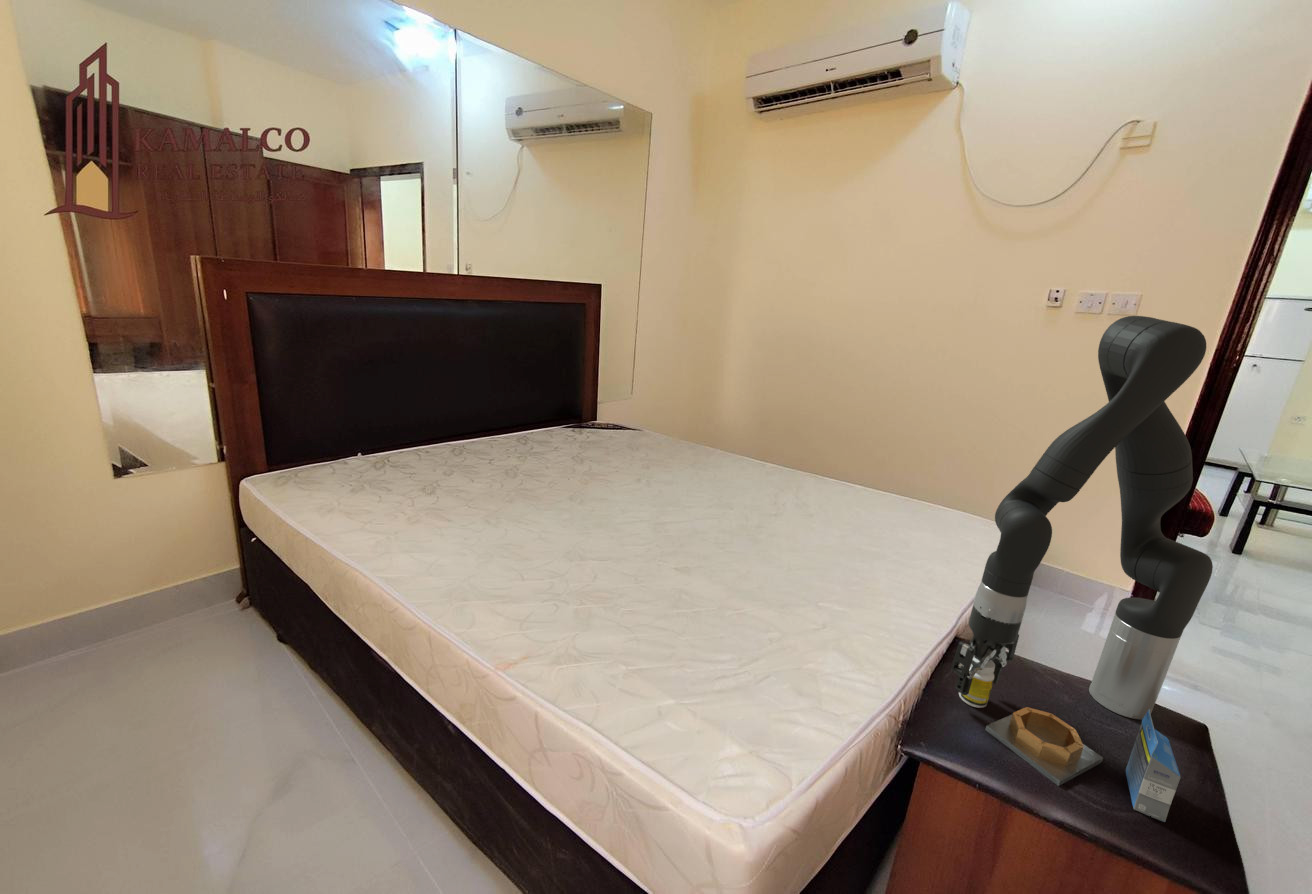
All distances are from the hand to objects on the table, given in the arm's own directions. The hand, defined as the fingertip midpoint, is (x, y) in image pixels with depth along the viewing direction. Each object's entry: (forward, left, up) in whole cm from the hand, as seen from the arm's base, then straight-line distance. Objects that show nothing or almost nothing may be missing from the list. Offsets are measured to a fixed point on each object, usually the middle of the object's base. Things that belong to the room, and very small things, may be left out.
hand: (976, 686), depth 101 cm
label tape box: (-6, +24, -3) cm, 25 cm away
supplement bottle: (0, 0, -3) cm, 3 cm away
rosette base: (-1, +12, -3) cm, 12 cm away
